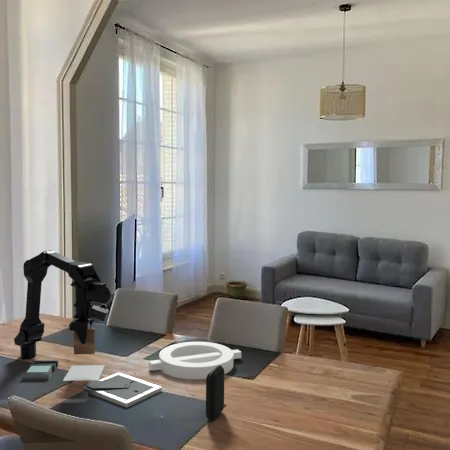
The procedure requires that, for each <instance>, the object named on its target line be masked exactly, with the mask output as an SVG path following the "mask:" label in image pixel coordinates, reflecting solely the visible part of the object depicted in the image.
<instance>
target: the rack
mask: <svg viewBox="0 0 450 450" xmlns="http://www.w3.org/2000/svg"><path fill="white" fill-rule="evenodd" d="M31 366H52V371H51V373H50V374H49V373H23V372H22V373H21V380H20V381H21V382H36V381H37V382H39V381H44V382H45V381H49V380H50V378H51V377H52V376H53V374H54V373H55V371H56V370H57V369H58V366H59V360H55V359H53V360H52V359H49V360H48V359H47V360H45V359H44V360H40V359H39V360H38V359H37V360H32V363H30V364H29V368H30V367H31Z"/></svg>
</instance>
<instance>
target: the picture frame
mask: <svg viewBox="0 0 450 450" xmlns="http://www.w3.org/2000/svg"><path fill="white" fill-rule="evenodd" d="M82 388H83V389H85V390H88V392H87V393H88V394H90V395H92V396H95V397H99V398H100V399H103V400H105V401H108V402H110V403H113V404H116V405H119V406H121V407H123V408H129V407H131V406H134V405H136V404H138V403H139V402H142V401H145V400H146V399H148V398H150V397H152V396H155V395H157V394H159V393H161V392H162V391H163V387H162V386H161V385H158V384H154V383H151V382H148V381H146V380H143V379H139V378H136V377H133V376H131V375H128V374H124V373H122V372H116V373H113V374H111V375H108V376H107V377H103V378H100V380H90V381H89V382H86V383H83V384H82Z"/></svg>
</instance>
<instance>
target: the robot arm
mask: <svg viewBox="0 0 450 450" xmlns="http://www.w3.org/2000/svg"><path fill="white" fill-rule="evenodd" d="M51 266H53V267H55V268H57V269H59V270H61V271H64V273H65V272H66V273H67V274H68V277H69V278H71V279H72V280H73V281H72V282H71V284H70V286H71V287H74V303H73V307H74V308H75V309H74V313H75V314H74V315H73V320H72V321H71V322H70V323H69V324H68V329H69V331H71V332H72V331H73V332H74V331H75V332H76V334H77V336H78V338H79V340H80V342H81V343H82V344H85V341H86V335H87V330H88V329H89V328H92V325H93V324H94V322H95V319H97V320H98V321H99V320H100V321H101V322H105V321H106V320H107V318H108V314H109V308H108V307H107V303H108V302H109V301H110V298H111V290H110V289H109V288H108V287H107V284H106V283H104V282H103V283H101V282H102V280H101V279H100V277H99V275H98V273H97V271H96V269H95V267H94V265H93V264H92V263H90V262H84V261H76V260H73V259H71V258H69V257H66V256H64V255H62V254H60V253H59V252H56V251H55V250H53V249H51V250H45V251H42V252H40V253H38V254H37V255H35V256H34V257H32V258H30V259H27V260H26V261H25V262H23V265H22V267H23V276H24V278H25V280H26V281H27V286H26V300H25V302H26V303H25V317H24V318H23V321H22V322H21V323H20V326H19V331H18V333H17V334H16V336H14V338H13V341H14V345H15V346H19V347H20V349H19V350H20V358H21V360H30V359H32V358H36V356H37V342H41V341H42V337H43V335H44V333H45V323H44V322H42V320H41V319H40V310H41V309H40V307H41V298H42V297H41V296H42V283H43V281H44V280H45V277H47V274H48V269H49V267H51ZM95 303H97V304H101V305H95ZM93 318H94V319H93Z"/></svg>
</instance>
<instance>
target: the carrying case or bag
mask: <svg viewBox="0 0 450 450" xmlns="http://www.w3.org/2000/svg"><path fill="white" fill-rule="evenodd" d="M205 380H206V382H205V416H206V419H207V420H208V421H209V422H213V421H214V420H216V418H217V417H219V415H220V414H221V412H222V411H223V410H224V407H225V374H224V369H223V367H222V366H221V365H218V366H217V367H215V368H214V369H213V370H212V371H211V372H210V373H209V374H208V375H207V378H206V379H205Z"/></svg>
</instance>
